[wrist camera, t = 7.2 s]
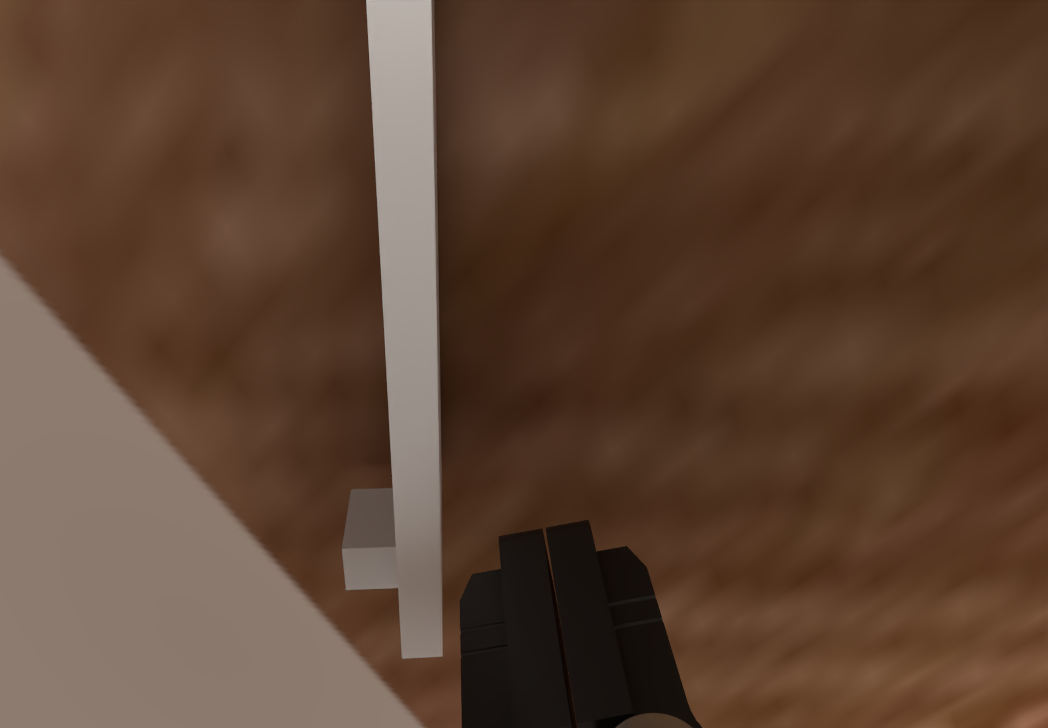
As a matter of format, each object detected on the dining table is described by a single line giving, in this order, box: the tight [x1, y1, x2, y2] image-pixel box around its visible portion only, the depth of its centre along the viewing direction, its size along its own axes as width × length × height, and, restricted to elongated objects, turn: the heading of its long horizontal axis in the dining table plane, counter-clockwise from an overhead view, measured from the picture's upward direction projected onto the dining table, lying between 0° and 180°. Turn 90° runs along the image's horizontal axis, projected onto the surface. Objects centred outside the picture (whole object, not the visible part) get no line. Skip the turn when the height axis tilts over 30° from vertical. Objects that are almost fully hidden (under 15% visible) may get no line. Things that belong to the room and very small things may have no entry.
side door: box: [342, 0, 443, 659], centre depth 15 cm, size 14×2×6 cm, turn 178°
